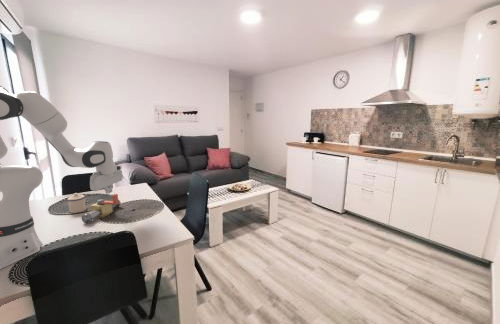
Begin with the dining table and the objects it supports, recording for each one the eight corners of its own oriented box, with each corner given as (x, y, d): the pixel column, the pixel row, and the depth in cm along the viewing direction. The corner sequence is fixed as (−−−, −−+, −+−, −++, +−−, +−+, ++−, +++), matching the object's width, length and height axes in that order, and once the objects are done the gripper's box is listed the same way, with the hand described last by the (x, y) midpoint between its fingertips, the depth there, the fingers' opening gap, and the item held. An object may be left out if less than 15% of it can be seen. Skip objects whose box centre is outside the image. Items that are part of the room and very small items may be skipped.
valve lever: (96, 204, 131) (94, 194, 130) (100, 201, 134) (99, 192, 133) (115, 205, 129) (114, 195, 128) (119, 202, 133) (118, 193, 132)
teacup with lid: (90, 208, 143) (87, 192, 140) (75, 214, 134) (72, 196, 132) (78, 206, 147) (75, 189, 145) (63, 211, 139) (59, 194, 136)
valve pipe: (92, 223, 122) (90, 211, 121) (81, 223, 123) (79, 210, 122) (122, 207, 146) (120, 196, 144) (112, 206, 147) (111, 195, 145)
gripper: (95, 174, 111) (99, 200, 114) (123, 165, 131) (126, 187, 134) (84, 174, 112) (88, 199, 115) (113, 165, 132) (116, 186, 135)
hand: (109, 192), depth 125 cm, fingers closed
